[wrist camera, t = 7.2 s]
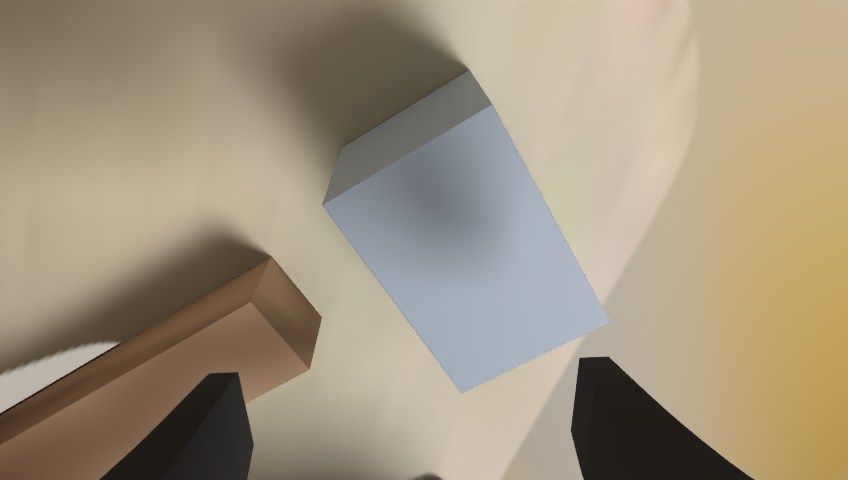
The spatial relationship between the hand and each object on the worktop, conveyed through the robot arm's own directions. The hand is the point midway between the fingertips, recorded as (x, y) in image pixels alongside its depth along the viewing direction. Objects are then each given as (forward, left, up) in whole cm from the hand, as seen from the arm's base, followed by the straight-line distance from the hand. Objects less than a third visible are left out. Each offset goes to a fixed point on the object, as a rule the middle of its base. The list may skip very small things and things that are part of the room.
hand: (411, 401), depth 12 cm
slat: (0, +13, -10) cm, 16 cm away
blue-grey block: (0, -2, -10) cm, 10 cm away
